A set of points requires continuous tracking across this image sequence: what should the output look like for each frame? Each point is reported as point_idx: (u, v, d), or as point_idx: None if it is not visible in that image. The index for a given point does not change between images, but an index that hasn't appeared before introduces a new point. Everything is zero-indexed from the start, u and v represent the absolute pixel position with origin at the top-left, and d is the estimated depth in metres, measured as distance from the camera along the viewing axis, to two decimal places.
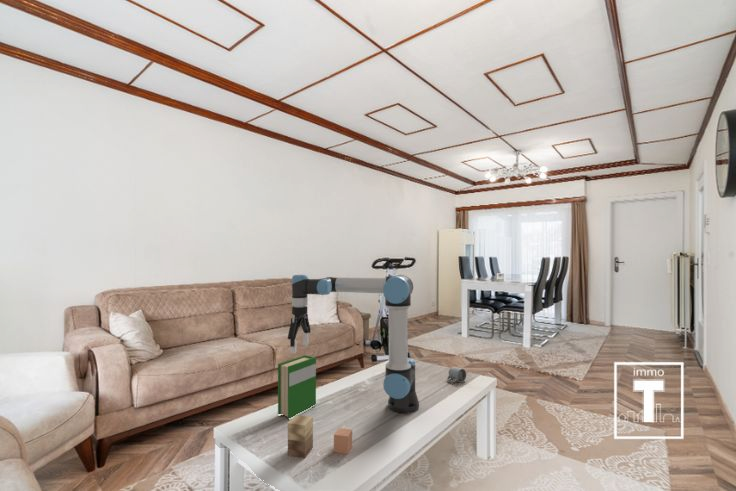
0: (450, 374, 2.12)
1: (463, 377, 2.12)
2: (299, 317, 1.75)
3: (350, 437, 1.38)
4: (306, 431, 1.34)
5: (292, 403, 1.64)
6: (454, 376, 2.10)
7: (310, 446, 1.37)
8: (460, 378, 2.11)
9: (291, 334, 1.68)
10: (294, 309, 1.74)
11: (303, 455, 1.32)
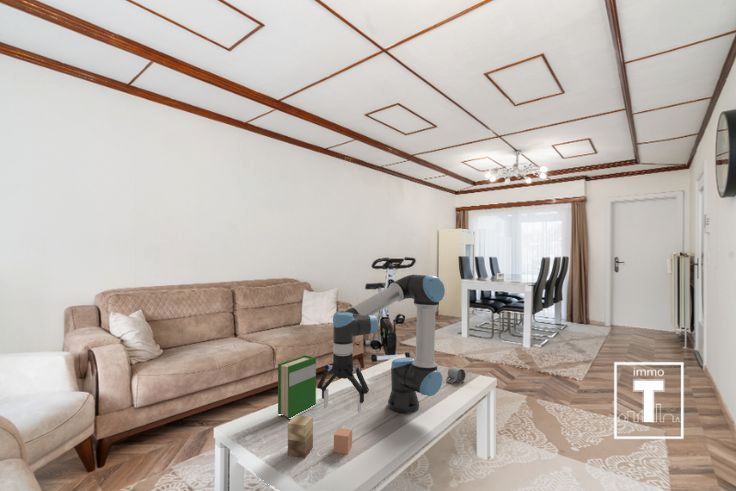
0: (449, 374, 2.12)
1: (462, 377, 2.12)
2: (335, 367, 1.39)
3: (350, 437, 1.38)
4: (306, 431, 1.34)
5: (292, 403, 1.64)
6: (453, 376, 2.09)
7: (310, 446, 1.37)
8: (459, 378, 2.11)
9: None
10: None
11: (303, 455, 1.32)
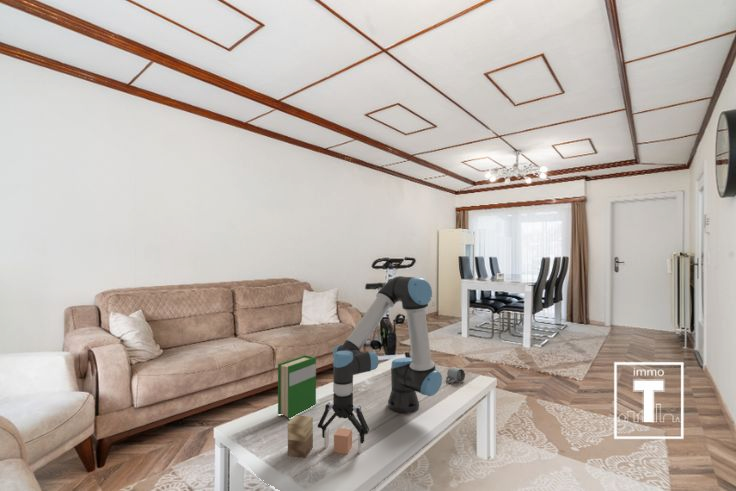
0: (449, 374, 2.12)
1: (462, 377, 2.12)
2: (336, 406, 1.38)
3: (350, 437, 1.38)
4: (306, 431, 1.34)
5: (292, 403, 1.64)
6: (453, 376, 2.09)
7: (310, 446, 1.37)
8: (459, 378, 2.10)
9: None
10: None
11: (303, 455, 1.32)
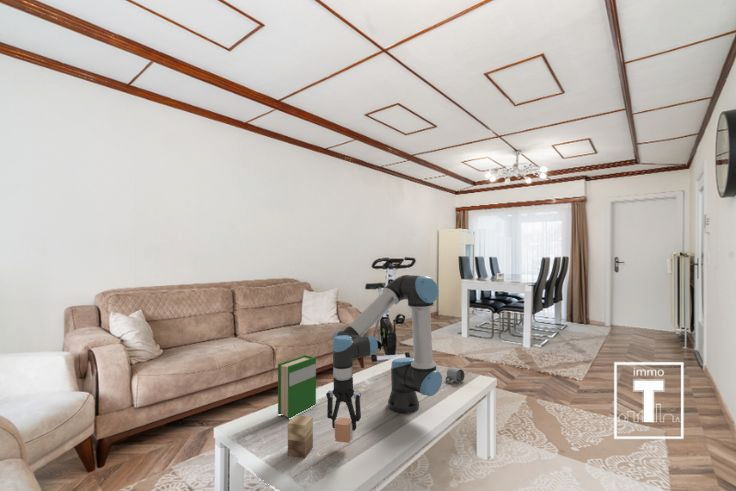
0: (448, 374, 2.12)
1: (461, 377, 2.12)
2: (335, 390, 1.39)
3: None
4: (306, 431, 1.34)
5: (292, 403, 1.64)
6: (452, 376, 2.09)
7: (310, 446, 1.37)
8: (458, 378, 2.10)
9: None
10: None
11: (303, 455, 1.32)
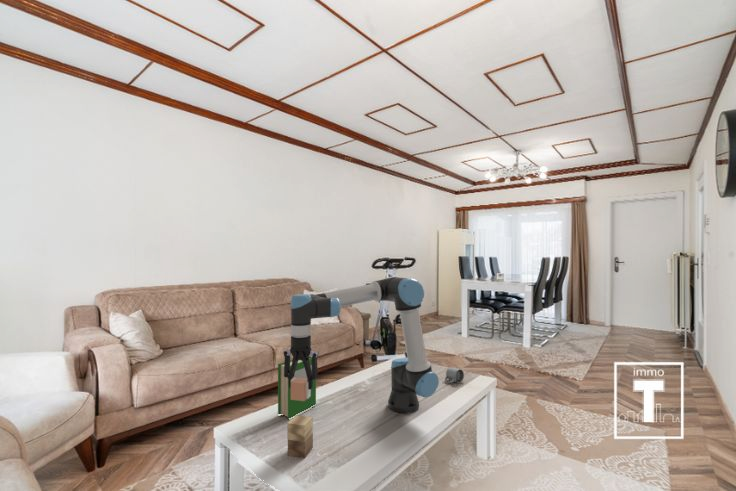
0: (448, 375, 2.11)
1: (461, 378, 2.11)
2: (292, 348, 1.37)
3: None
4: (306, 431, 1.34)
5: (292, 403, 1.64)
6: (452, 377, 2.09)
7: (310, 446, 1.37)
8: (458, 379, 2.10)
9: None
10: None
11: (303, 455, 1.32)
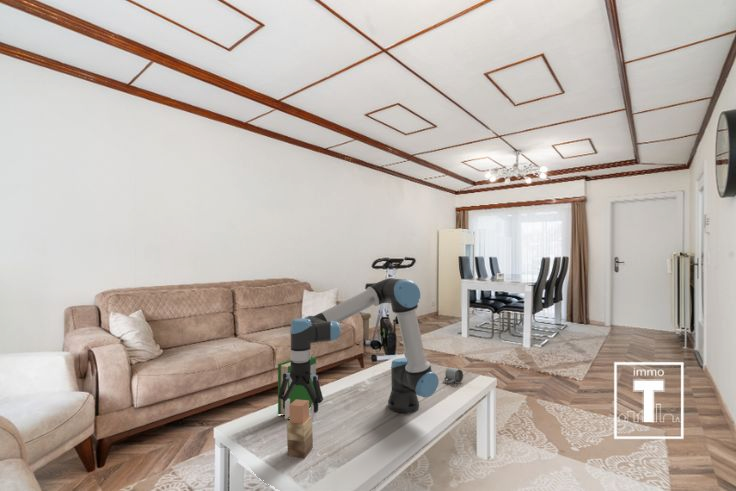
0: (447, 375, 2.11)
1: (460, 378, 2.11)
2: (293, 373, 1.37)
3: (306, 407, 1.36)
4: (306, 431, 1.34)
5: None
6: (451, 377, 2.08)
7: (310, 446, 1.37)
8: (457, 379, 2.10)
9: None
10: None
11: (303, 455, 1.32)
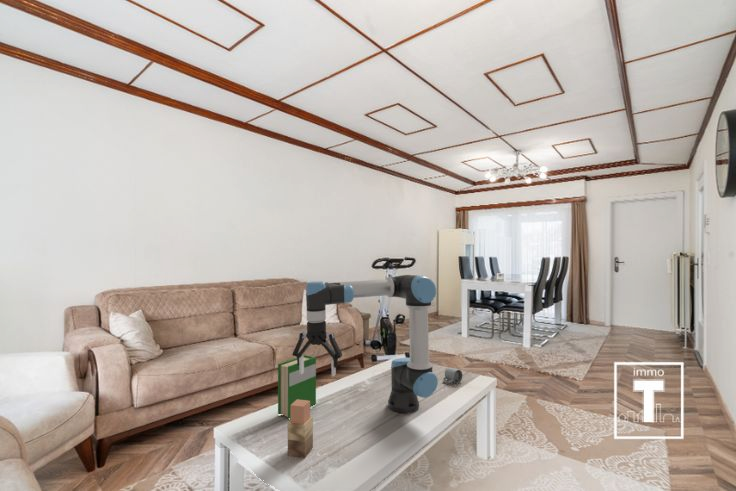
0: (446, 375, 2.11)
1: (459, 378, 2.11)
2: (309, 334, 1.43)
3: (307, 407, 1.36)
4: (306, 431, 1.34)
5: None
6: (450, 377, 2.08)
7: (310, 446, 1.37)
8: (456, 379, 2.09)
9: None
10: None
11: (303, 455, 1.32)
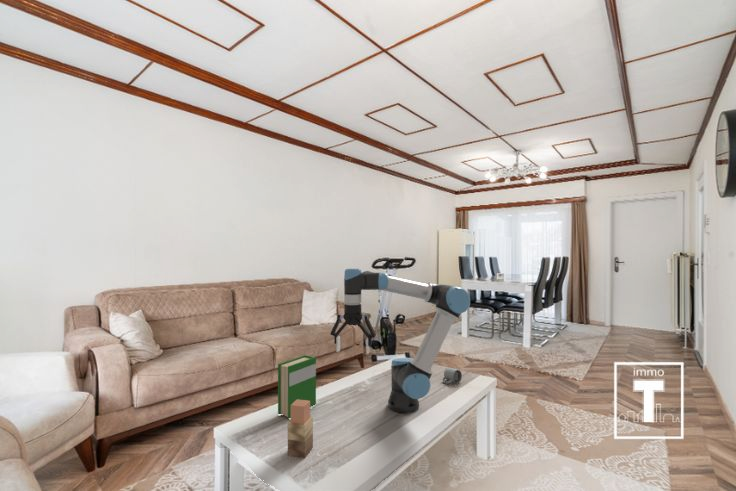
0: (445, 375, 2.10)
1: (459, 378, 2.10)
2: (346, 315, 1.58)
3: (307, 407, 1.36)
4: (306, 431, 1.34)
5: None
6: (449, 377, 2.08)
7: (310, 446, 1.37)
8: (455, 379, 2.09)
9: None
10: None
11: (303, 455, 1.32)
